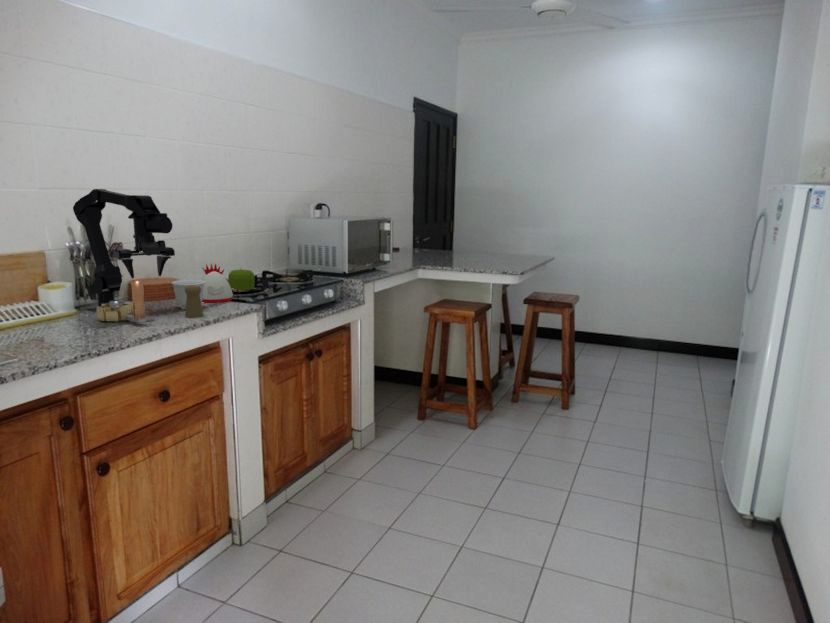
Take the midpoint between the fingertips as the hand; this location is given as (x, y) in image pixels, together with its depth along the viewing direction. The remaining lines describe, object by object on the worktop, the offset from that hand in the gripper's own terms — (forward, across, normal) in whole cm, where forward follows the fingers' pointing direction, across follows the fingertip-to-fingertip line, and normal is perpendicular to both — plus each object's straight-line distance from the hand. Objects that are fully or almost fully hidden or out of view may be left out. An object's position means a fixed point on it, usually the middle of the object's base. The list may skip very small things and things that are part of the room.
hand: (146, 277), depth 201 cm
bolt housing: (+13, -12, -4) cm, 18 cm away
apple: (+13, +48, +20) cm, 53 cm away
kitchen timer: (+13, +30, +10) cm, 34 cm away
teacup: (+13, +15, -1) cm, 20 cm away
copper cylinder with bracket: (+12, -11, -9) cm, 19 cm away
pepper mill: (+13, +10, -14) cm, 22 cm away
